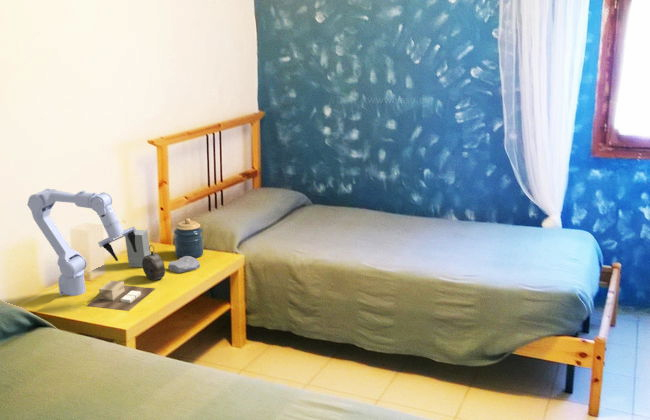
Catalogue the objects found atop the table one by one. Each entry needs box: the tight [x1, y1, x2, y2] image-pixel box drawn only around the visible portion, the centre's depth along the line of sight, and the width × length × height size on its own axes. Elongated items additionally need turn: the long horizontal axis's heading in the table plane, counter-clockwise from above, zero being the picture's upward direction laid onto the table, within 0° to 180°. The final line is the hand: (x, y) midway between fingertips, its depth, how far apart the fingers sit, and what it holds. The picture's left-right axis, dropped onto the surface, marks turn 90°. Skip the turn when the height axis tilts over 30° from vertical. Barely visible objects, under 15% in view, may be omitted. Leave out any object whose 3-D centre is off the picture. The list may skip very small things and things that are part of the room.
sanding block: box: [98, 280, 125, 301], centre depth 272 cm, size 6×9×4 cm, turn 167°
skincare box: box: [124, 229, 151, 268], centre depth 307 cm, size 8×7×16 cm
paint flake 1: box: [121, 295, 135, 303], centre depth 268 cm, size 4×4×1 cm
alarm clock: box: [141, 244, 166, 281], centre depth 288 cm, size 11×5×16 cm, turn 47°
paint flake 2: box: [127, 291, 141, 298], centre depth 272 cm, size 4×4×1 cm
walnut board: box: [85, 284, 156, 312], centre depth 272 cm, size 18×22×2 cm
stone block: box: [168, 256, 201, 274], centre depth 305 cm, size 12×5×10 cm
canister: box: [173, 217, 204, 259], centre depth 320 cm, size 13×13×18 cm
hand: (126, 256), depth 266 cm, fingers open, 7 cm apart
